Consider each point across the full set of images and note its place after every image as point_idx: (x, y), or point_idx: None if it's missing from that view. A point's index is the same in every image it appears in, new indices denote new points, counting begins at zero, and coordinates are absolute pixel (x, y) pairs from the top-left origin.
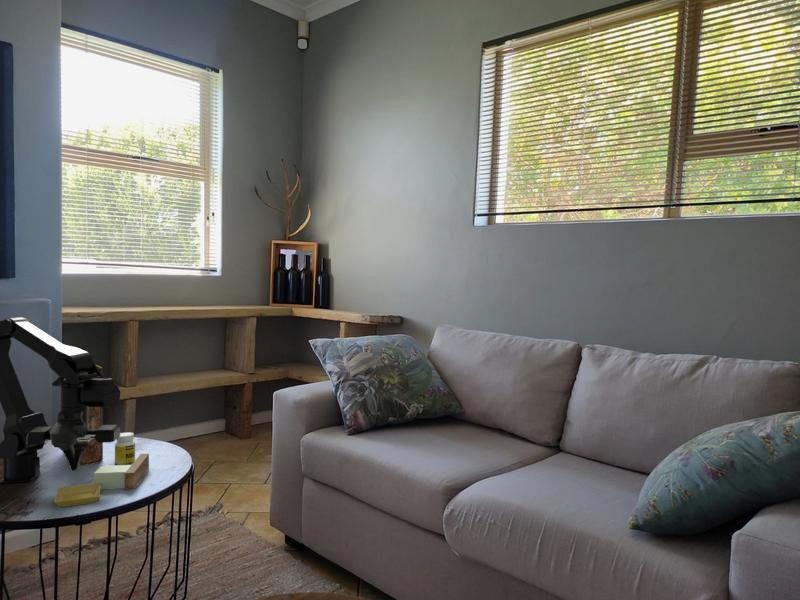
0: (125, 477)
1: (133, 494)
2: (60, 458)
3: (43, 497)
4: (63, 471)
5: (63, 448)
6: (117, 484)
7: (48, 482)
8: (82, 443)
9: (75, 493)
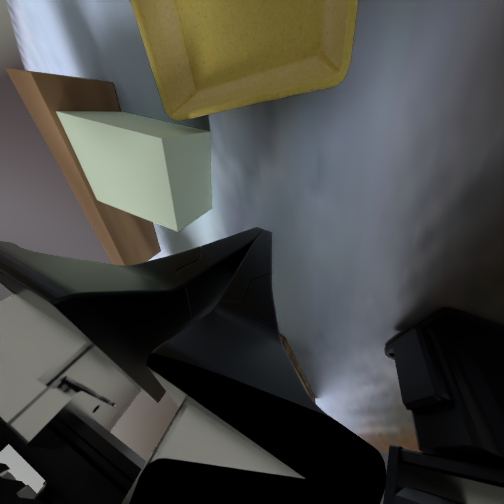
0: (54, 75)
1: (59, 6)
2: (326, 383)
3: (439, 57)
4: (320, 325)
5: (245, 344)
6: (131, 116)
7: (371, 273)
8: (30, 300)
9: (263, 71)
